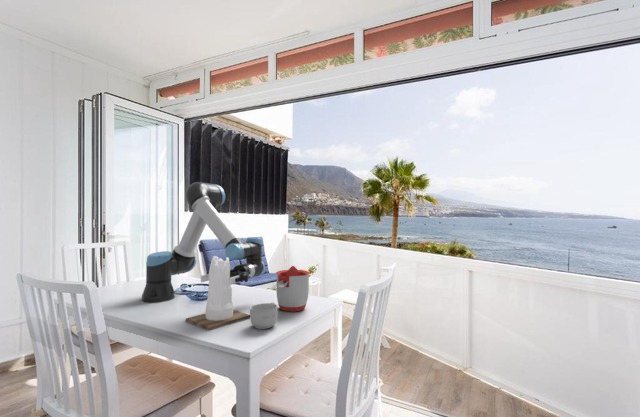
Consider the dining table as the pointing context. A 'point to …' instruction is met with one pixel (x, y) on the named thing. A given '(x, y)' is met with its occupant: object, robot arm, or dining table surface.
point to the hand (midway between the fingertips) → (215, 280)
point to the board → (210, 324)
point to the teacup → (263, 315)
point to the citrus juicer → (292, 289)
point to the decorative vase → (219, 291)
